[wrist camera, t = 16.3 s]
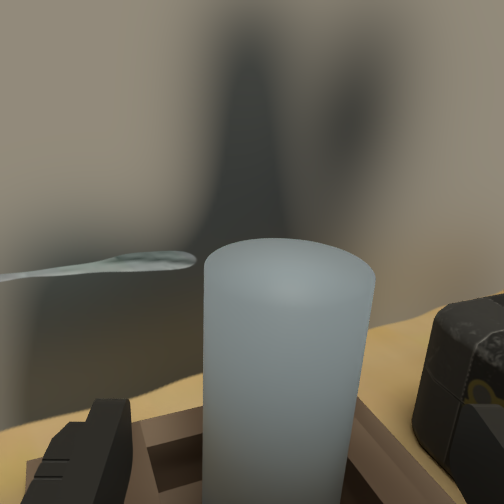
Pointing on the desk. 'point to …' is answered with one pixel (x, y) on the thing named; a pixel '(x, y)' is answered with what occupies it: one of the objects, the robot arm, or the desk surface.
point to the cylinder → (281, 369)
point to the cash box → (459, 370)
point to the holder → (191, 453)
